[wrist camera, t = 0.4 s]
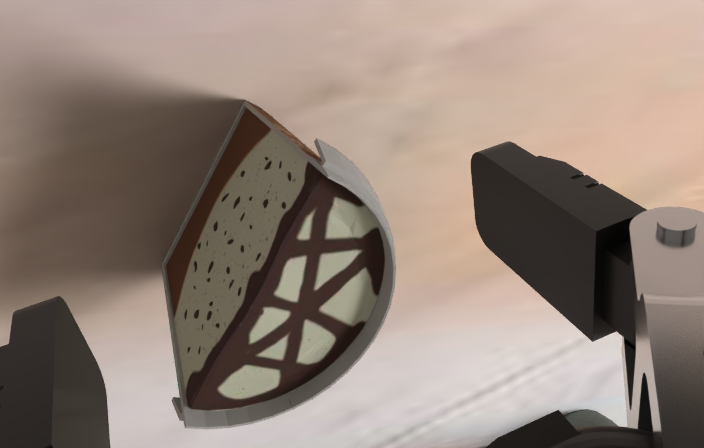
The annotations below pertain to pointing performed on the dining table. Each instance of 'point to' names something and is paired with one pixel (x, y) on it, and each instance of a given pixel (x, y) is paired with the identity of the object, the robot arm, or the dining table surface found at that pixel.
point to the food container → (274, 276)
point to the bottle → (588, 419)
